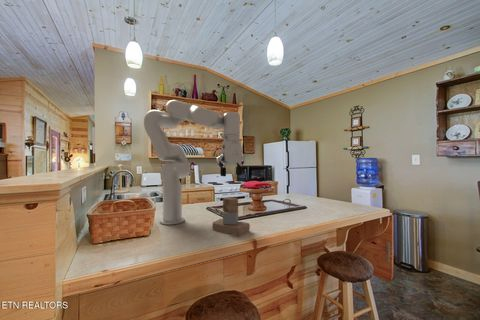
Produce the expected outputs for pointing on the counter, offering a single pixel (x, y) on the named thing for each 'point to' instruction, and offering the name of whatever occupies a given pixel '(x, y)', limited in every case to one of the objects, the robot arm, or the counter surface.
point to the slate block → (230, 218)
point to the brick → (231, 227)
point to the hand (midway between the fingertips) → (231, 175)
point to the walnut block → (230, 205)
